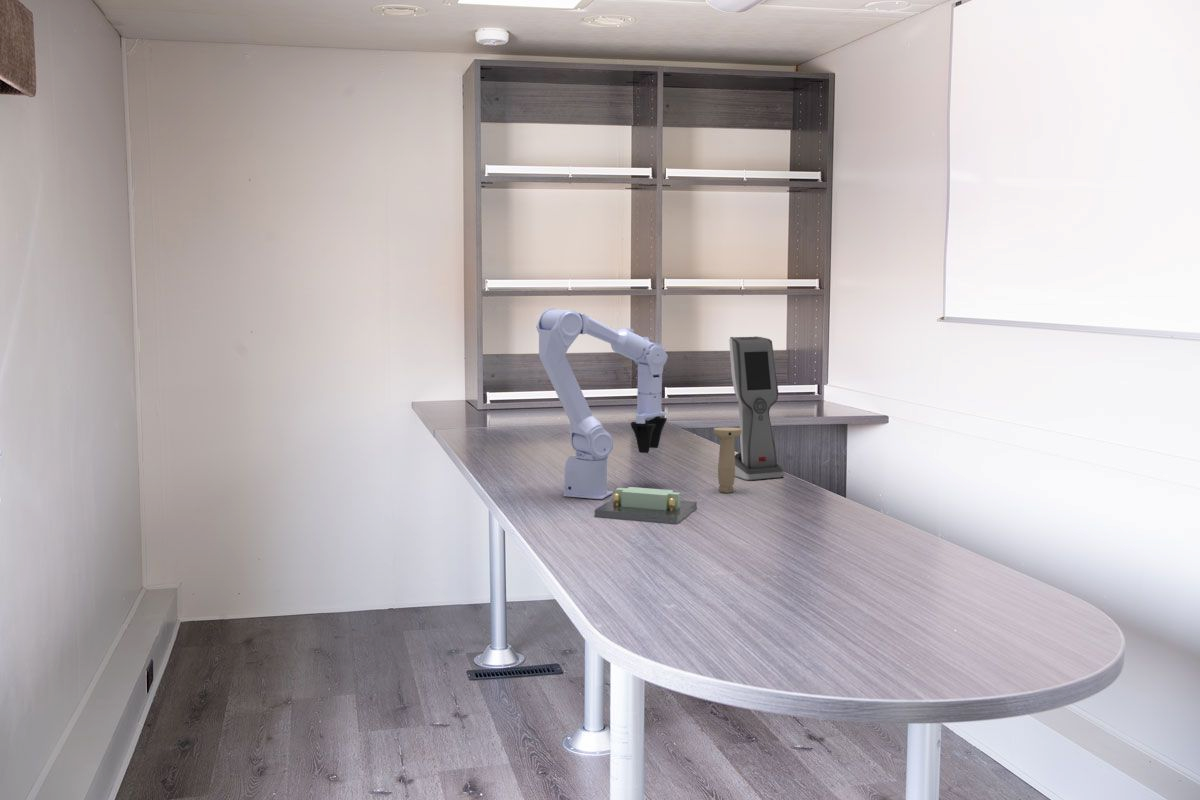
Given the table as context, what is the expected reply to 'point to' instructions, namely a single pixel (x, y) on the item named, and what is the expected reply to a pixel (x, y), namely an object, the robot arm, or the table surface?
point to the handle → (726, 457)
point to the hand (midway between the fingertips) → (648, 450)
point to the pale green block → (647, 498)
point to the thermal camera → (755, 406)
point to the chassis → (646, 511)
